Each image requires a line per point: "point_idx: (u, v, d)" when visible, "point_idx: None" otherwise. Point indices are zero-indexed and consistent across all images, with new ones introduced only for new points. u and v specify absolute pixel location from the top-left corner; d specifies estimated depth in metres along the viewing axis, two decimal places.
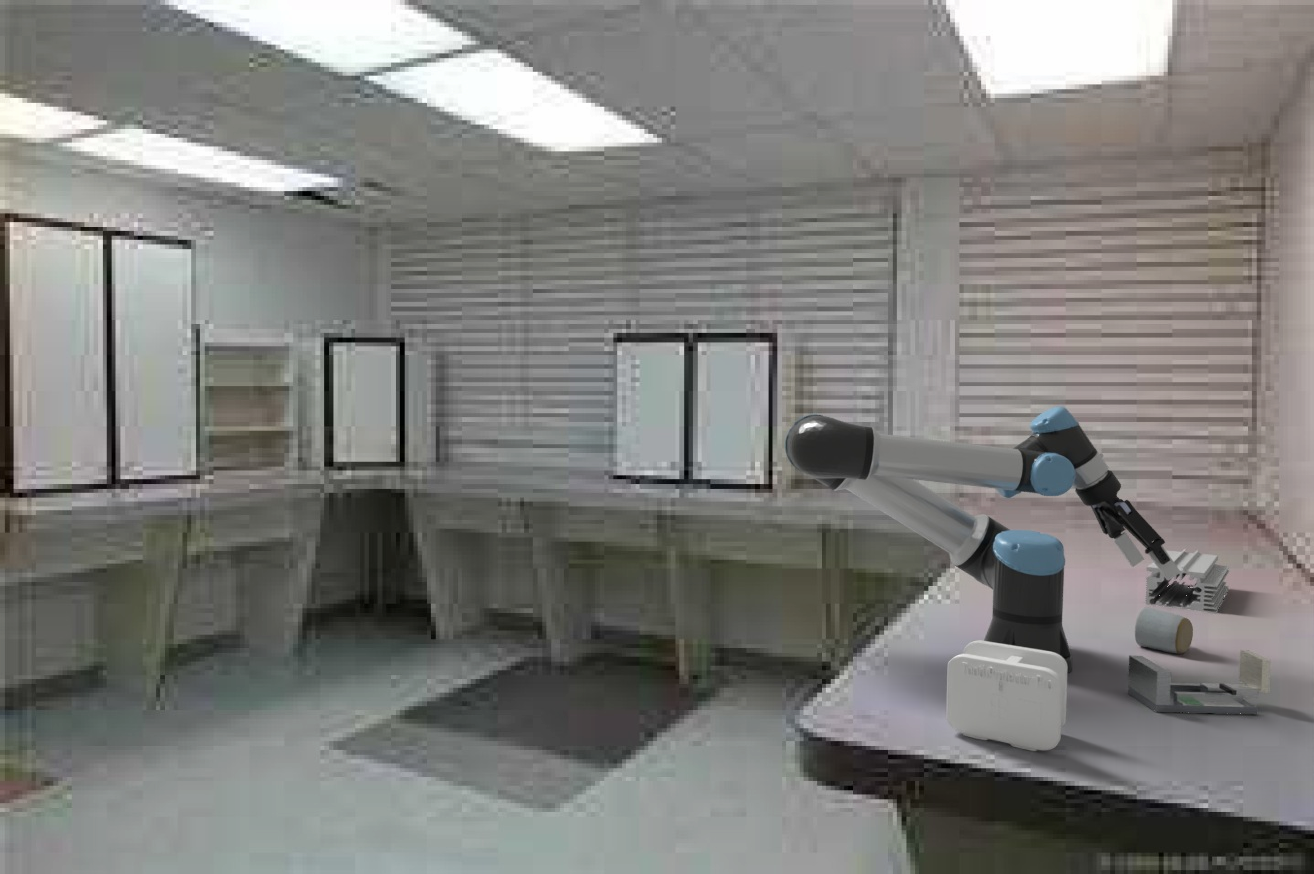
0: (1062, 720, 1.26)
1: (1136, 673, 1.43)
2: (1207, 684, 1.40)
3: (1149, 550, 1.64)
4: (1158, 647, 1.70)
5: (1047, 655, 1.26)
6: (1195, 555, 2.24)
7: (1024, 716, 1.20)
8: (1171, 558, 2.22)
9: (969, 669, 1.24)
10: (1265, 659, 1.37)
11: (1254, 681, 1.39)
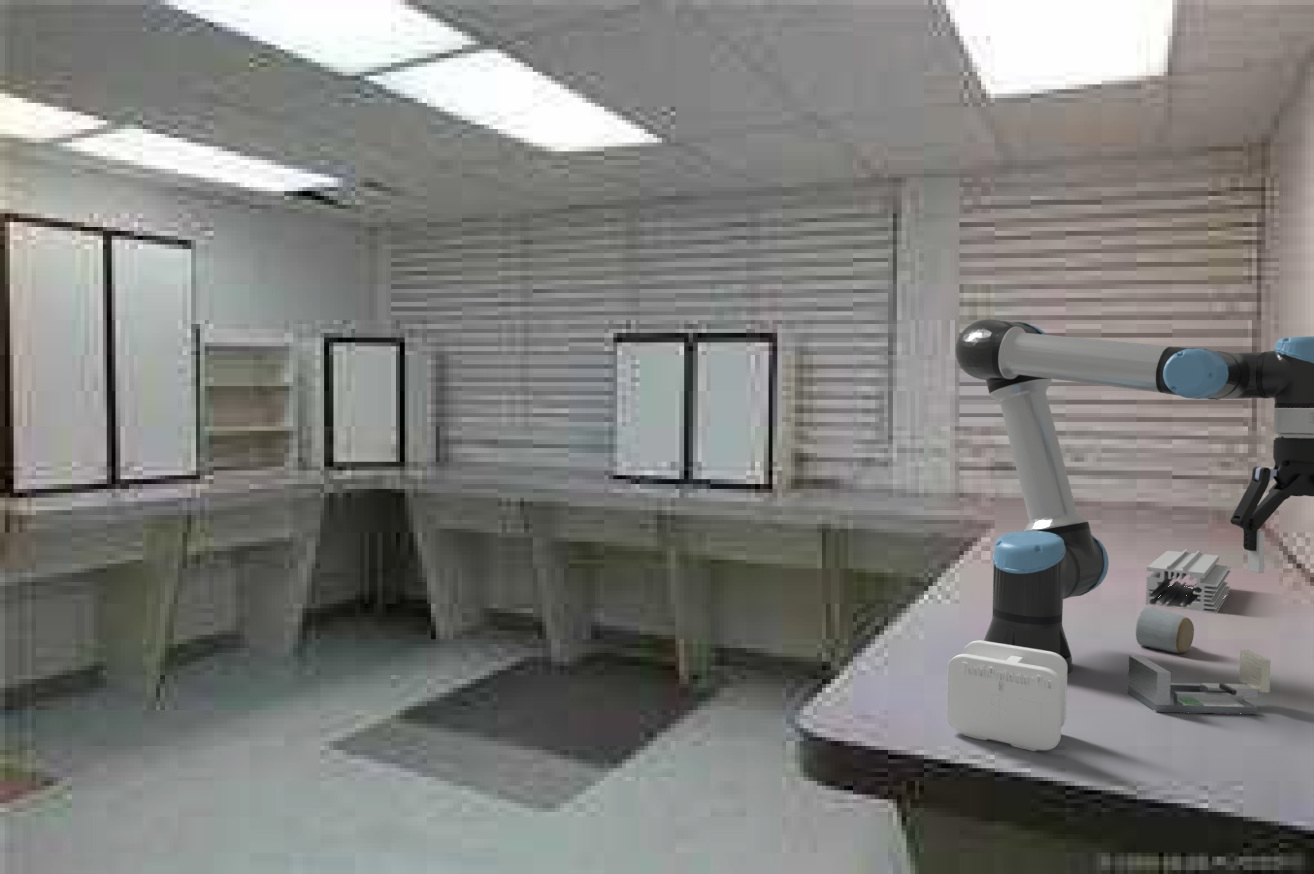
0: (1062, 720, 1.26)
1: (1136, 673, 1.43)
2: (1207, 684, 1.40)
3: None
4: (1159, 647, 1.70)
5: (1047, 655, 1.26)
6: (1196, 555, 2.24)
7: (1024, 716, 1.20)
8: (1172, 558, 2.22)
9: (969, 669, 1.24)
10: (1265, 659, 1.37)
11: (1254, 681, 1.39)
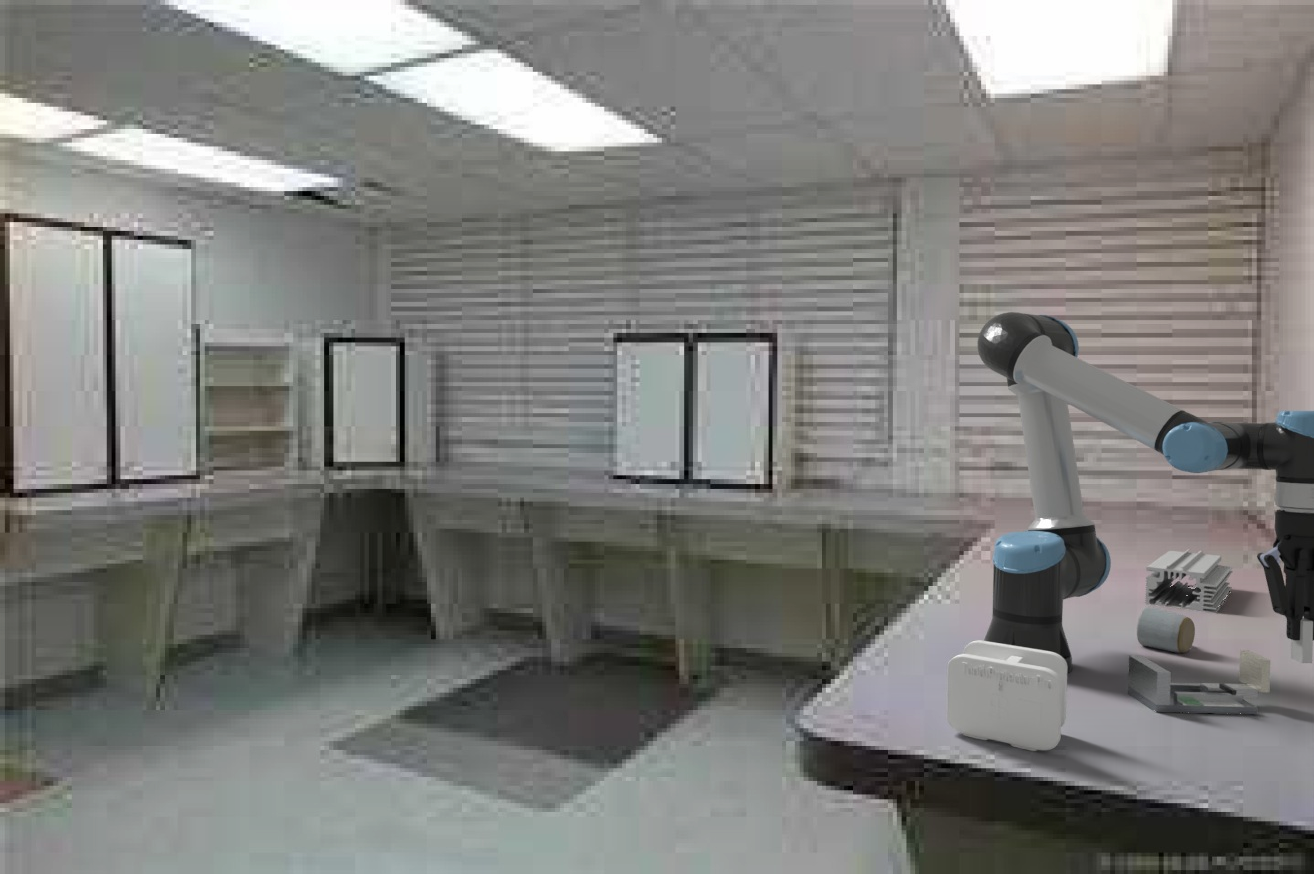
0: (1062, 720, 1.26)
1: (1136, 673, 1.43)
2: (1207, 684, 1.40)
3: None
4: (1160, 646, 1.70)
5: (1047, 655, 1.26)
6: (1197, 555, 2.23)
7: (1024, 716, 1.20)
8: (1173, 558, 2.22)
9: (969, 669, 1.24)
10: (1265, 659, 1.37)
11: (1254, 681, 1.39)
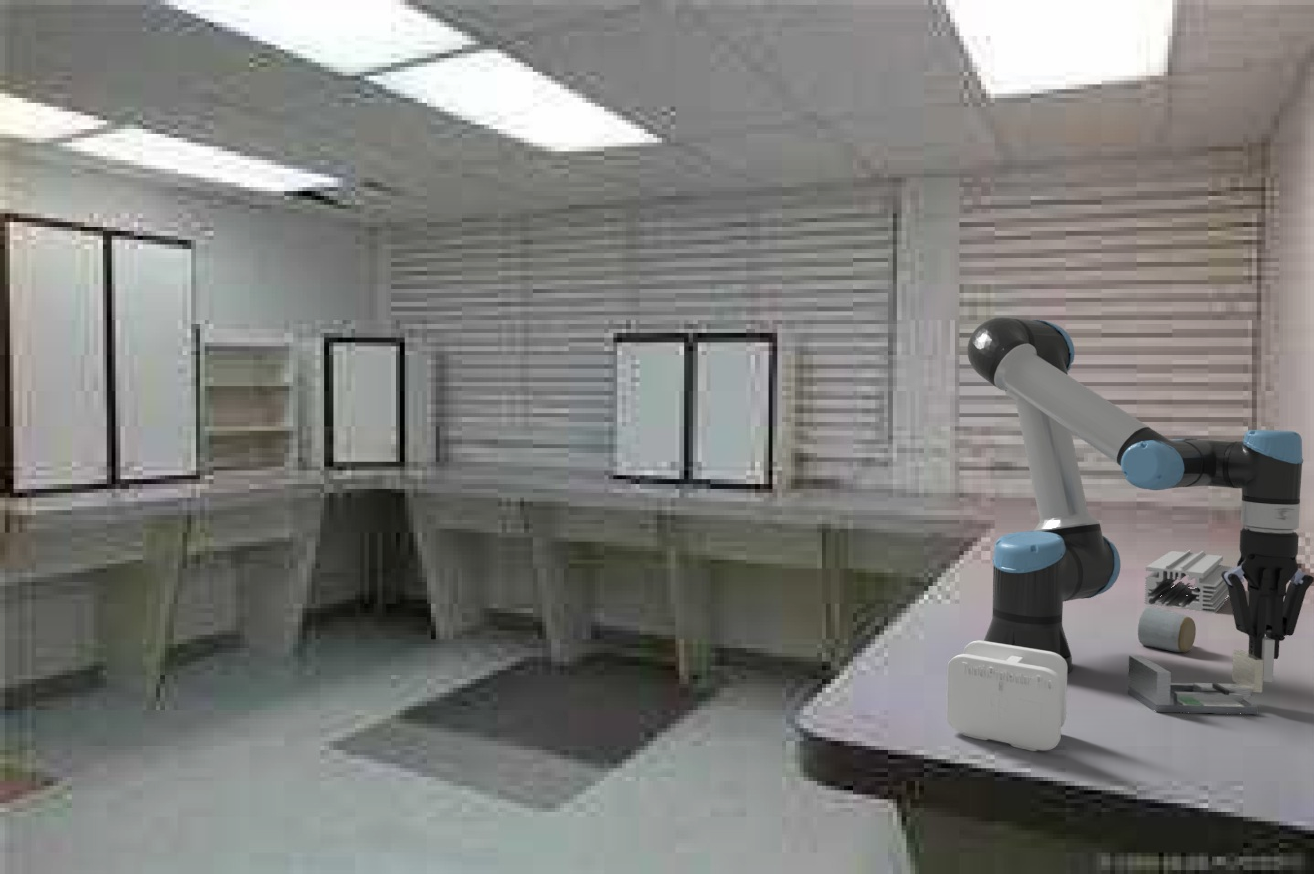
0: (1062, 720, 1.26)
1: (1136, 673, 1.43)
2: (1200, 684, 1.40)
3: None
4: (1161, 646, 1.70)
5: (1047, 656, 1.26)
6: (1199, 555, 2.23)
7: (1024, 716, 1.20)
8: (1174, 558, 2.22)
9: (969, 669, 1.24)
10: (1258, 659, 1.37)
11: (1247, 681, 1.39)
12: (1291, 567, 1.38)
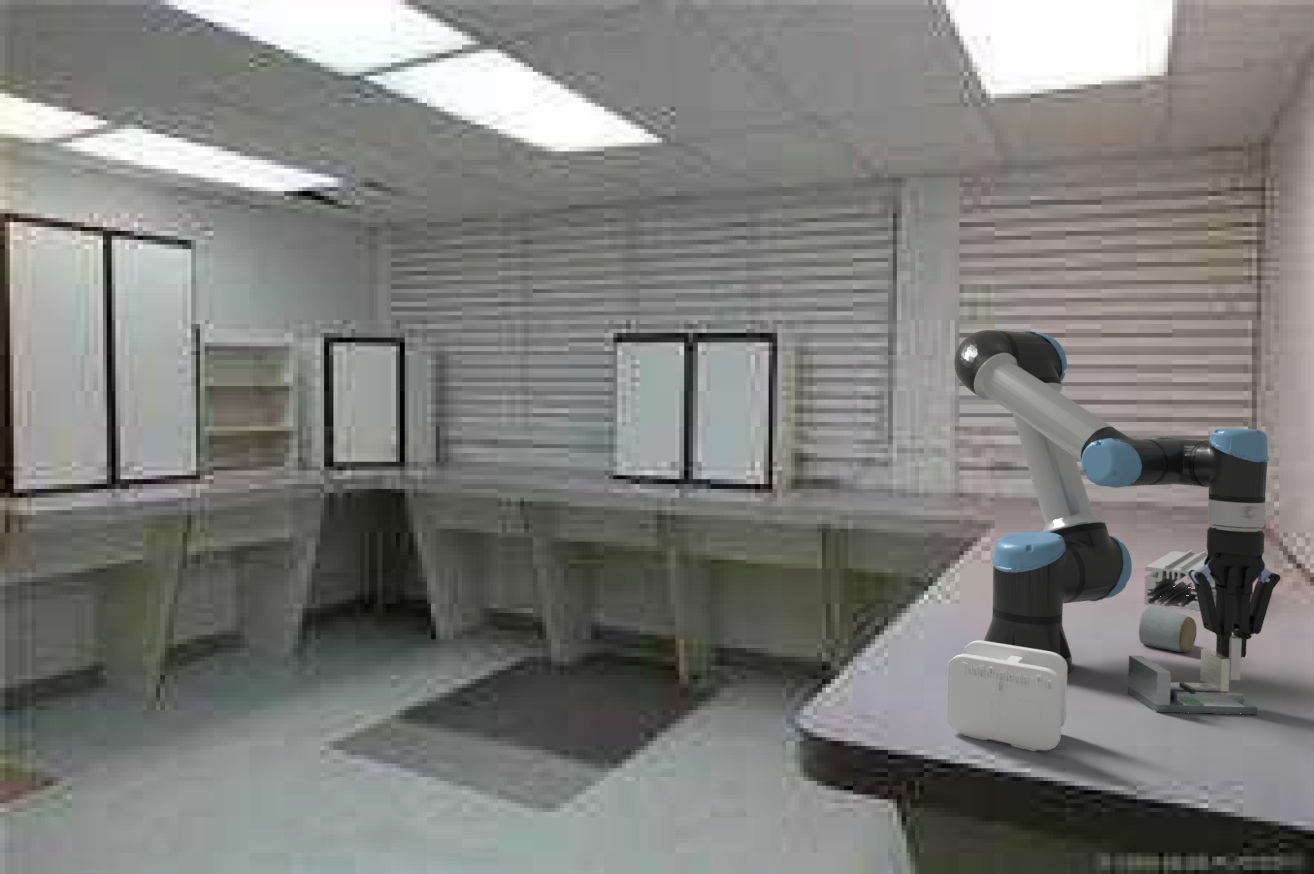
0: (1062, 720, 1.26)
1: (1136, 673, 1.43)
2: None
3: None
4: (1162, 646, 1.71)
5: (1047, 655, 1.26)
6: (1200, 556, 2.23)
7: (1024, 716, 1.20)
8: (1174, 558, 2.22)
9: (969, 669, 1.24)
10: (1224, 658, 1.37)
11: (1214, 680, 1.39)
12: (1258, 565, 1.38)
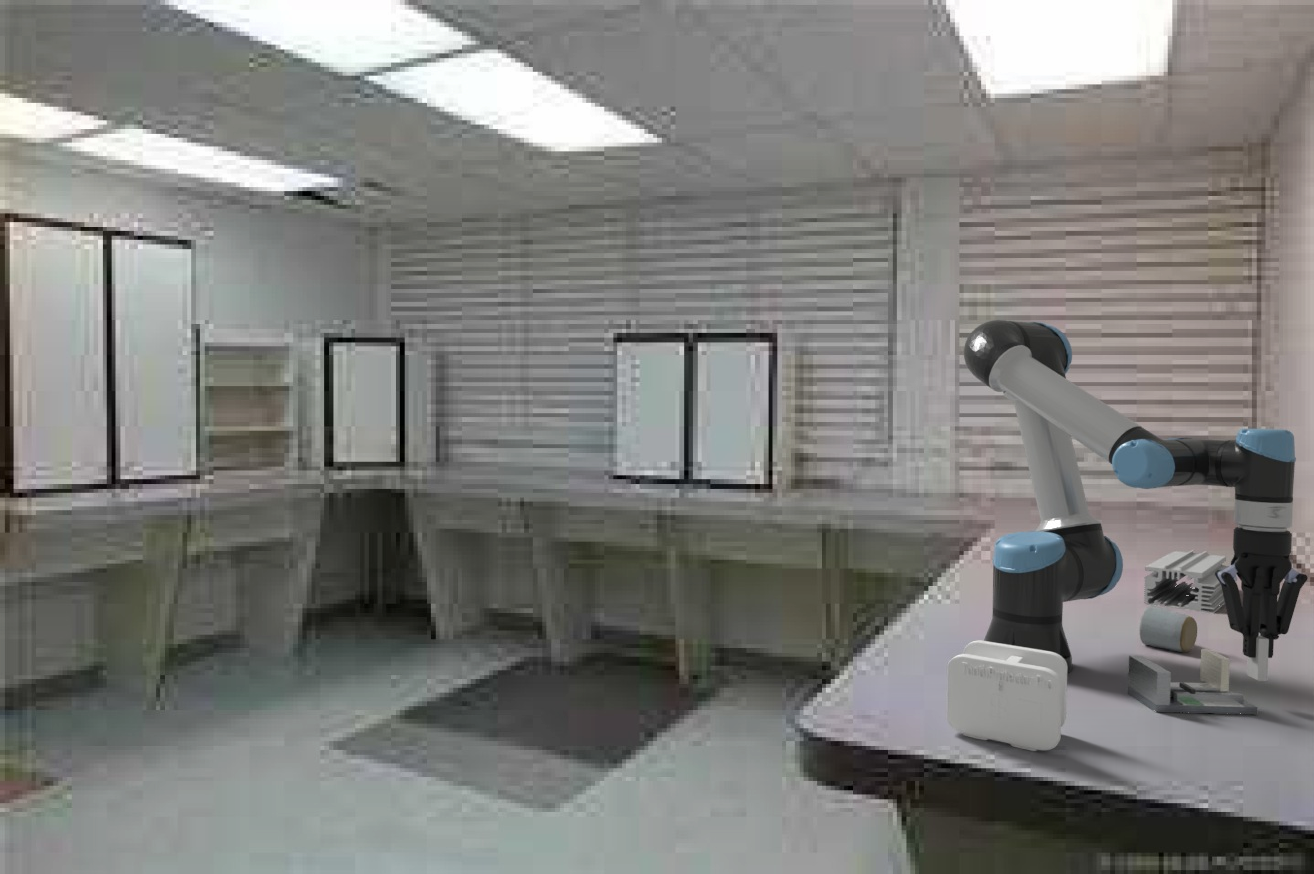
0: (1062, 720, 1.26)
1: (1136, 673, 1.43)
2: None
3: None
4: (1163, 645, 1.71)
5: (1047, 655, 1.26)
6: (1201, 556, 2.23)
7: (1024, 716, 1.20)
8: (1175, 558, 2.22)
9: (969, 669, 1.24)
10: (1224, 658, 1.37)
11: (1214, 680, 1.39)
12: (1285, 566, 1.38)
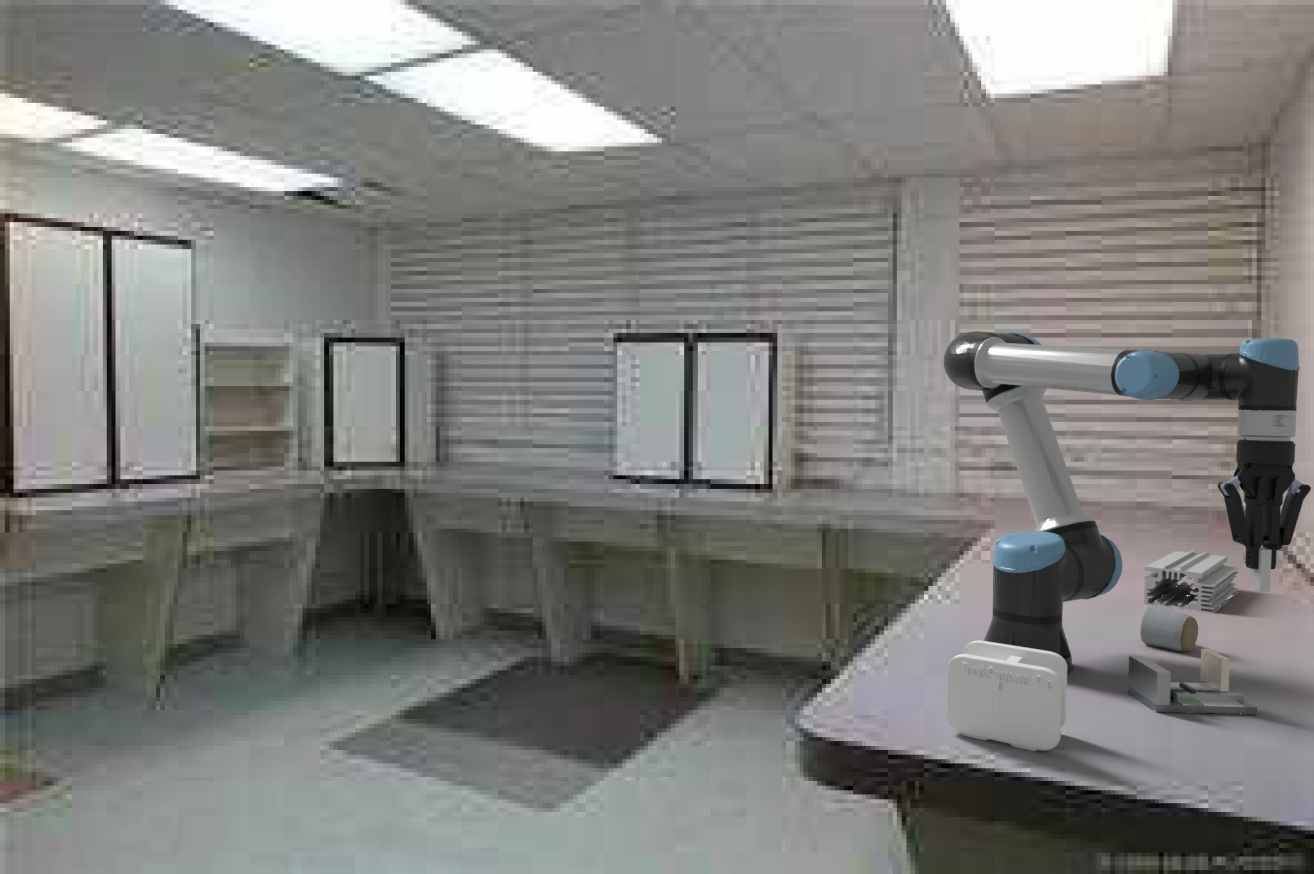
0: (1062, 720, 1.26)
1: (1136, 673, 1.43)
2: None
3: None
4: (1163, 645, 1.71)
5: (1047, 655, 1.26)
6: (1201, 556, 2.23)
7: (1024, 716, 1.20)
8: (1176, 558, 2.22)
9: (969, 669, 1.24)
10: (1224, 658, 1.37)
11: (1214, 680, 1.39)
12: (1288, 476, 1.37)
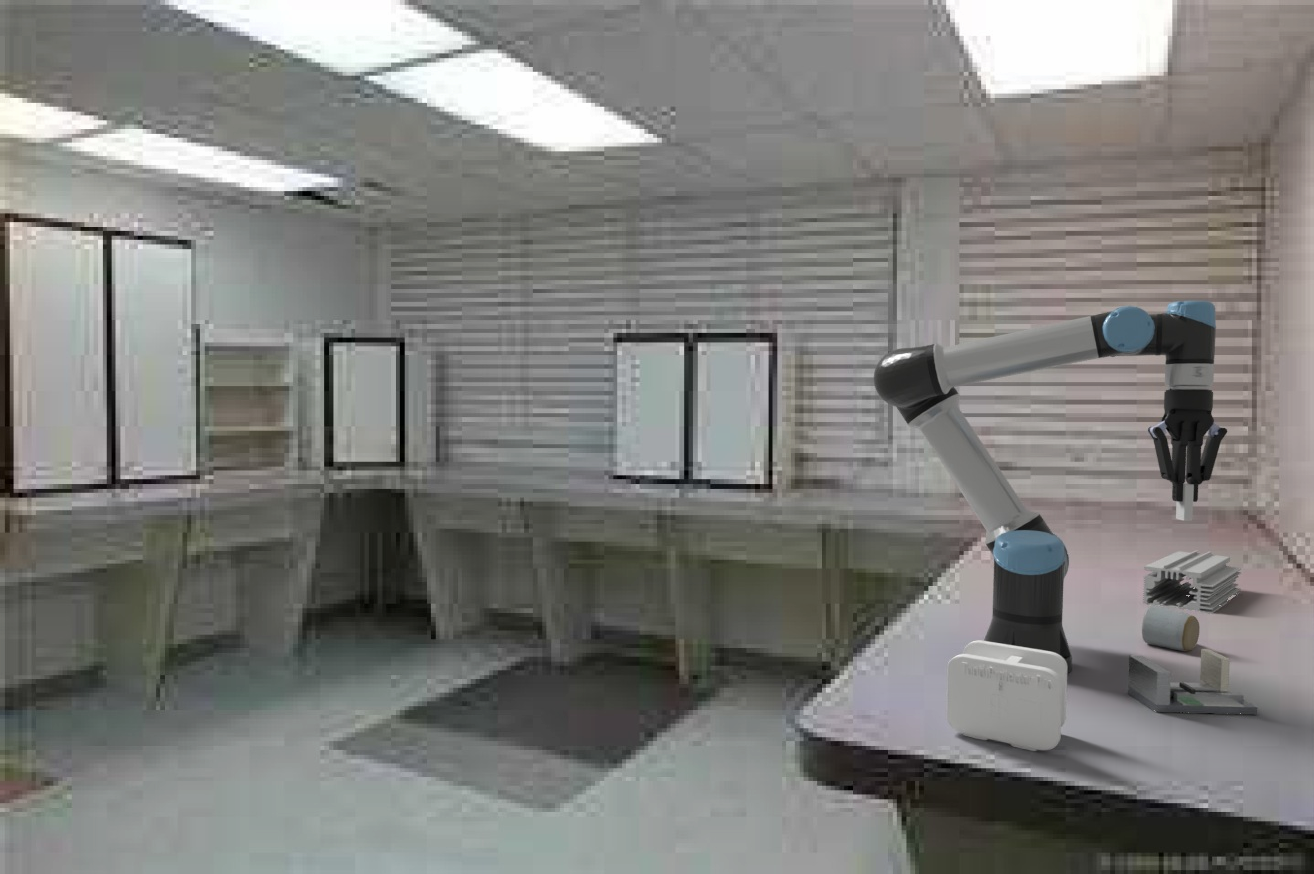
0: (1062, 720, 1.26)
1: (1136, 673, 1.43)
2: None
3: None
4: (1165, 645, 1.71)
5: (1047, 655, 1.26)
6: (1203, 556, 2.23)
7: (1024, 716, 1.20)
8: (1177, 558, 2.22)
9: (969, 669, 1.24)
10: (1224, 658, 1.37)
11: (1214, 680, 1.39)
12: (1207, 420, 1.58)
